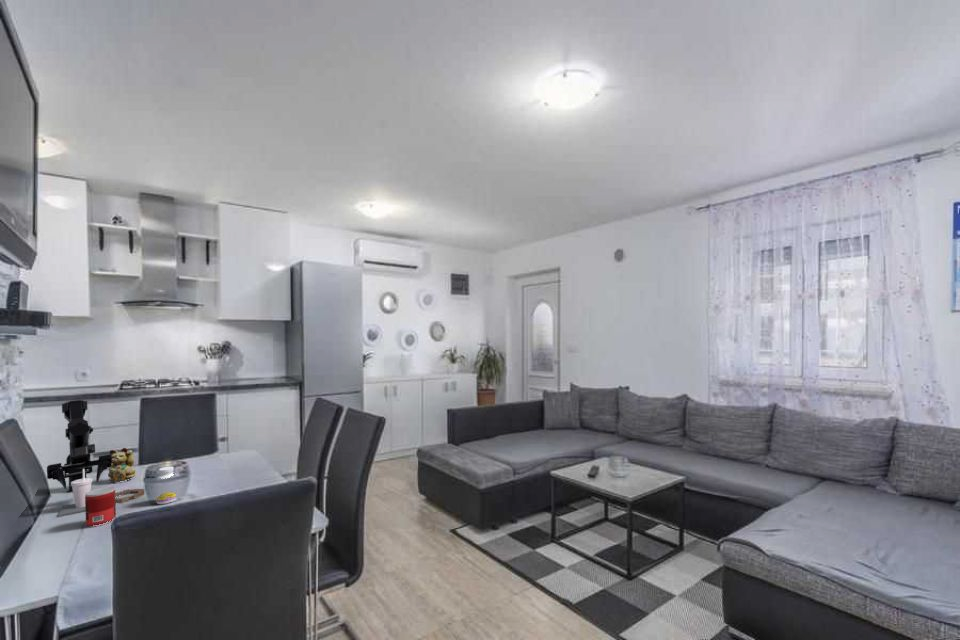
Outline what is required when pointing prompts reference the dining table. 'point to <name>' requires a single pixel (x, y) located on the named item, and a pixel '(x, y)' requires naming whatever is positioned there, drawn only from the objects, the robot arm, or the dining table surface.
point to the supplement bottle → (166, 497)
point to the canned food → (100, 506)
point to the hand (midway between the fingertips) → (81, 484)
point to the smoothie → (81, 490)
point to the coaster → (70, 510)
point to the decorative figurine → (121, 465)
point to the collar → (126, 499)
